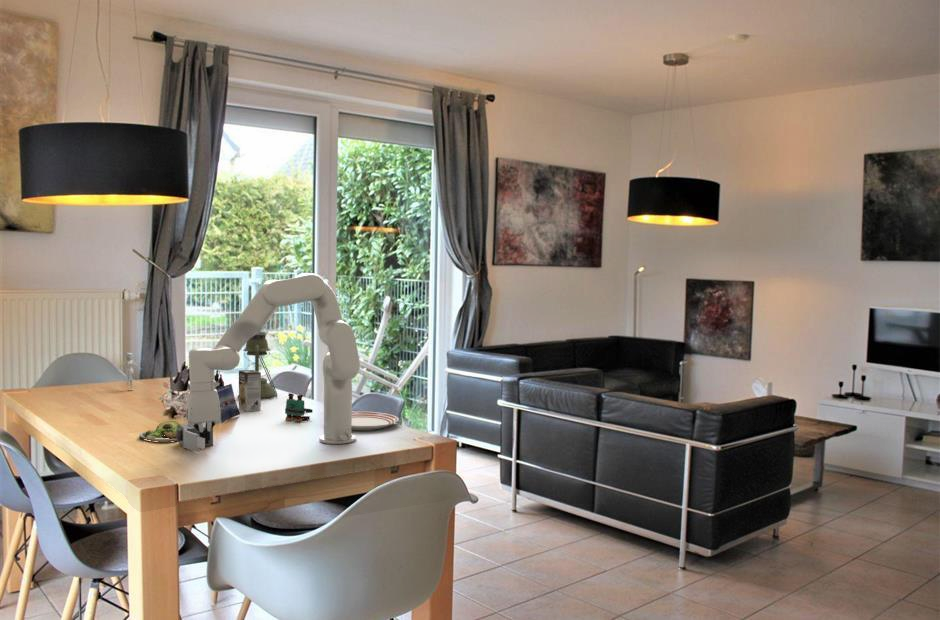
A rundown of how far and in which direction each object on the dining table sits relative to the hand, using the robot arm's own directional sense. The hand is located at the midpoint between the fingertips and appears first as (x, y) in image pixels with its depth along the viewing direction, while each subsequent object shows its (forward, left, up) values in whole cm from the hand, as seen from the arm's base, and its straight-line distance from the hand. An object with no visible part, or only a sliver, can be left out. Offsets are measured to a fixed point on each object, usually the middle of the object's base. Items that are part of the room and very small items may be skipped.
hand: (204, 443), depth 246 cm
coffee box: (+67, -33, -3) cm, 75 cm away
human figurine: (+139, +4, -3) cm, 139 cm away
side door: (+1, +3, -2) cm, 4 cm away
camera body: (+12, 0, -3) cm, 12 cm away
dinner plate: (+16, -62, -3) cm, 64 cm away
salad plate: (+28, +6, -3) cm, 29 cm away
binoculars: (+37, -44, -3) cm, 57 cm away
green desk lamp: (+96, -44, -3) cm, 106 cm away
